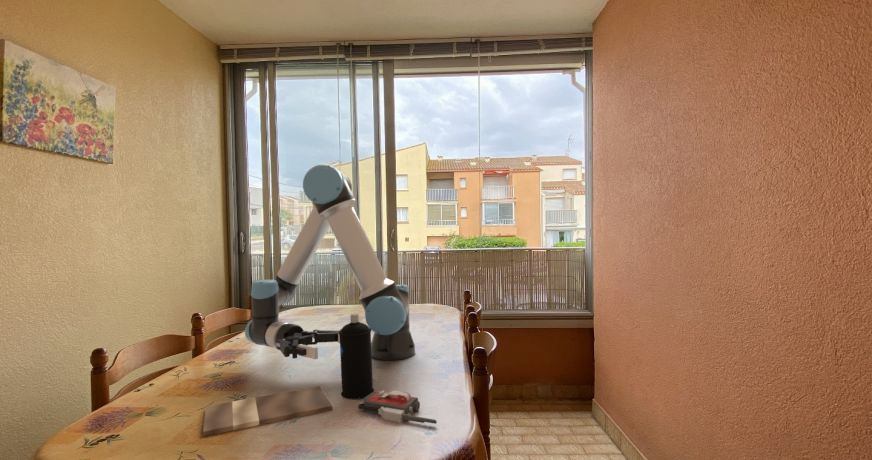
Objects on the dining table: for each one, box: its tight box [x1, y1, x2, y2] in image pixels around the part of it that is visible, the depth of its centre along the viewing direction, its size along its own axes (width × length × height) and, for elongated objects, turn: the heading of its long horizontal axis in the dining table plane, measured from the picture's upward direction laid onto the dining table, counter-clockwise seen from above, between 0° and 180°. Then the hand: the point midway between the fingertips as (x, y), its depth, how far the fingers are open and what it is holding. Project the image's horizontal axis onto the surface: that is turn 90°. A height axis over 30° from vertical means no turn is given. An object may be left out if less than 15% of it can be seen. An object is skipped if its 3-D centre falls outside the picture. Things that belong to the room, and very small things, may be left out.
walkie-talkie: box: [358, 390, 438, 425], centre depth 95 cm, size 9×4×20 cm
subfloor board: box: [202, 385, 333, 437], centre depth 97 cm, size 26×14×1 cm, turn 117°
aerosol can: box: [338, 313, 375, 400], centre depth 106 cm, size 8×8×20 cm
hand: (337, 346), depth 110 cm, fingers open, 13 cm apart
